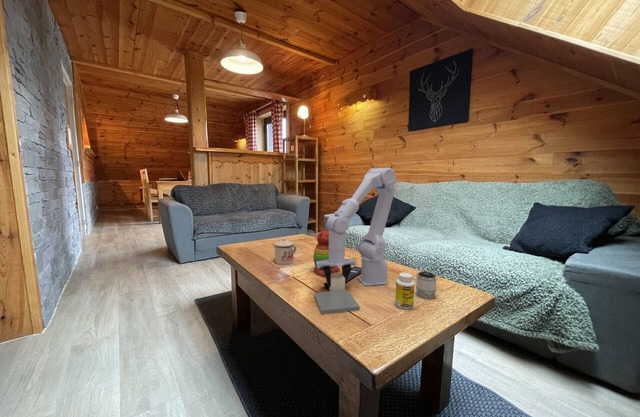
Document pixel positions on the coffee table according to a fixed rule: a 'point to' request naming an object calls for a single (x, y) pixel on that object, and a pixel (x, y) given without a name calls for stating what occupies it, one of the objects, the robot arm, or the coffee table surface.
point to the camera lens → (426, 285)
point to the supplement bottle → (404, 291)
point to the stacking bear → (323, 253)
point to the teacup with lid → (284, 252)
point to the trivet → (336, 302)
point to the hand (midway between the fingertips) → (336, 285)
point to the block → (337, 282)
